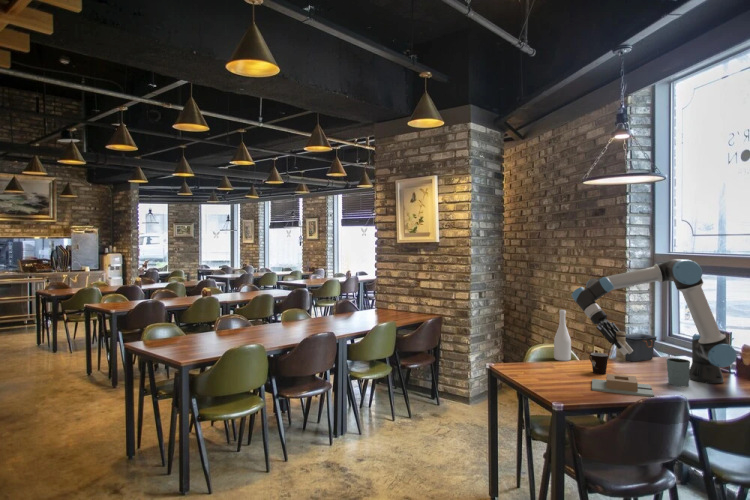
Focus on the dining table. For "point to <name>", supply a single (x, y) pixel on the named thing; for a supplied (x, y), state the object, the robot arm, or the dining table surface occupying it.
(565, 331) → the wine bottle
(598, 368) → the coffee mug
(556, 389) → the dining table surface
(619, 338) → the round peg
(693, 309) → the robot arm
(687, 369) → the grey-green tapered pot
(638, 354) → the storage bin
